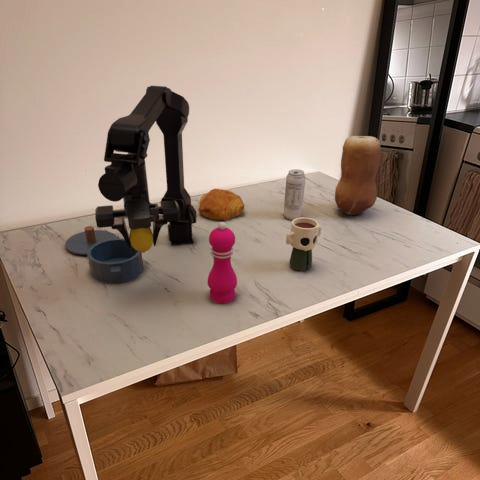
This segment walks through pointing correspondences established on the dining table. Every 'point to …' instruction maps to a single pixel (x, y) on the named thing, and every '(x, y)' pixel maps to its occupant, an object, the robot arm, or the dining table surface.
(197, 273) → the dining table surface
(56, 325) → the dining table surface
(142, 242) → the lemon
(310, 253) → the character mug
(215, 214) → the croissant
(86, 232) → the pot lid
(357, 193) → the butternut squash
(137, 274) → the pot
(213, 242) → the pepper mill
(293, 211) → the energy drink can
